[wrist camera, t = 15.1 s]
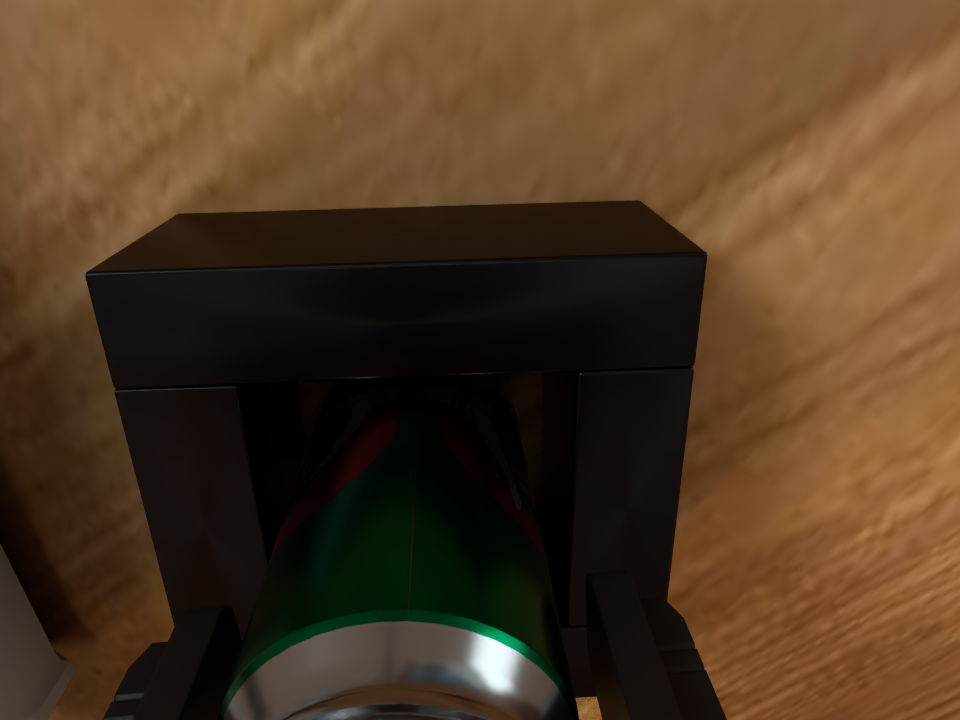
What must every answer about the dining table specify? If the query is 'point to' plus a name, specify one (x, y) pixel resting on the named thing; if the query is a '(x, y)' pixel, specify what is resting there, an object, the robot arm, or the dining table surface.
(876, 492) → the dining table surface
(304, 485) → the soda can
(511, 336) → the holder
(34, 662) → the tube
